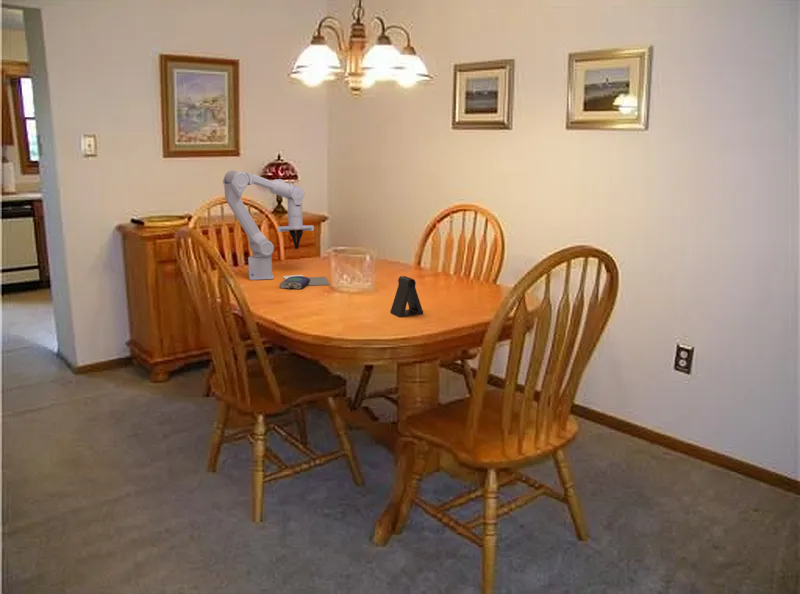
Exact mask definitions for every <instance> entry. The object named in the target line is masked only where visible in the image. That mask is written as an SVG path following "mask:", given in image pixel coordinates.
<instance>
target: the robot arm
mask: <svg viewBox="0 0 800 594" xmlns="http://www.w3.org/2000/svg"><path fill="white" fill-rule="evenodd" d="M293 184H294V183H291V182H285V181H283V179H281V178H278V179H276V178H275V179H274V180H269V179H267V178H265V177H262V176H260V175H257V174H255V173H250V172H244V171H236V170H229V171H227V172H226V173H225V174H224V178H223V180H222V185H223V188H224V199H225V202H226V203H227V205H228V207H229V208H230V209H231V211H232V213H233V214H234V216H235V218H236V219H237V221H238V222H239V224H240V226H241V228H242V229H243V230H244V232H245V234H246V235H247V237H248V238H247V241H248V243H249V249H250V250H251V252H252V255H251V256H248V260H247V261H248V270H247V274H248V277H249V278H248V279H249V281H253V280H254V281H256V280H273V279H275V276H274V274H273V263H272V262H273V261H272V259H273V258H272V254H273V253H274V250H275V246H274V244H273V242H272V241H270V240H268V238H267V236H265V235H264V234H263V233H262V232H261V230H260V229H259V227H258V225H257V223H256V222H255V220H254V218H253V217H252V216H251V213H250V212H249V210H248V209H247V207H246V204H244V202H243V200H242V199H241V198H242V195H243V192H244V191H245V189H246V188H247V186H252V185H255V186H260V187H262V188H265V189H269V191H270V192H271V194H273V195H276V196H280V197H283V198H285V199H287V216H288V219H287V223H288V225H283V226H277V232H278V233H281V232H282V233H283V232H288V233H289V235H290V236H291V239H292V242H293V245H294V250H299V247H300V246H299V245H300V242H301V240H302V239H301V238H302V236H303V234H304V232H308V231H309V232H313V231H315V227H314V225H311V224H310V225H308V224H307V225H305V224H304V223H303V199H304V197H305V192H304V190H303V188H302V187H301V186H298V185H293Z"/></svg>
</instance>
